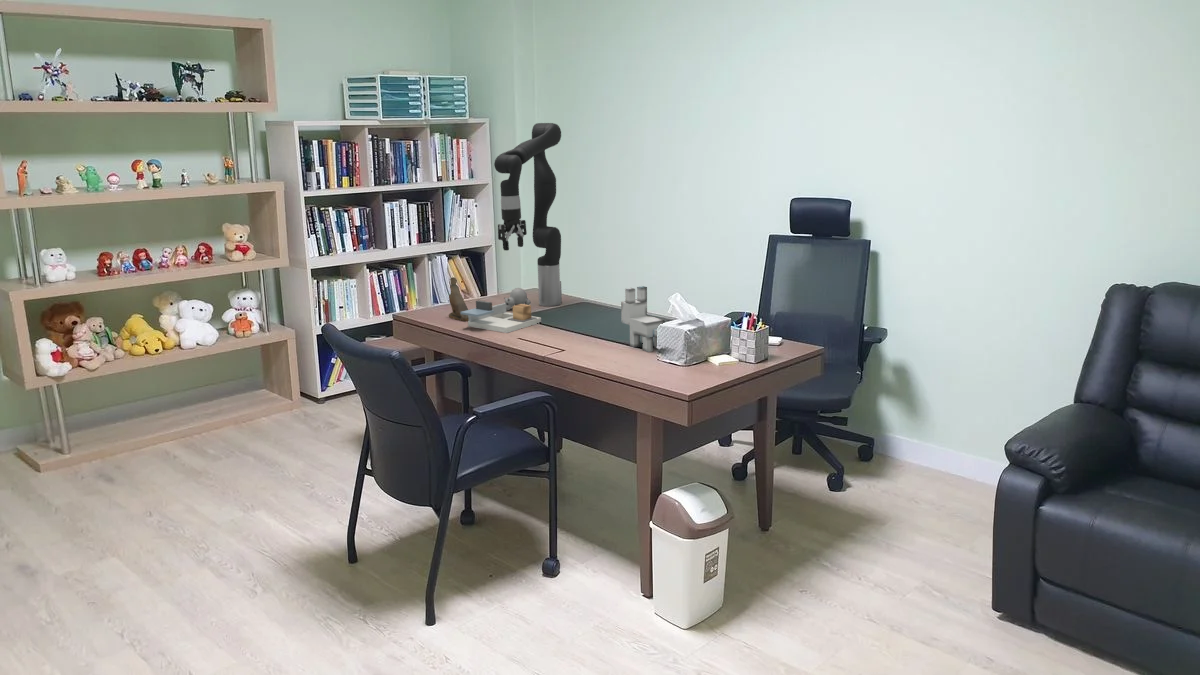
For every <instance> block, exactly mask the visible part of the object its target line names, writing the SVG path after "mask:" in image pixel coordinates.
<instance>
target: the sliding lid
mask: <svg viewBox="0 0 1200 675" xmlns="http://www.w3.org/2000/svg"><path fill="white" fill-rule="evenodd" d="M492 306H493V302H491V301H485V300H476V301H475V307H474V308H471V309H468V310H466V311H462V312H461V314H463V315H469V316H475V317H479V316H483V315H487V314H490V313H494V310H492Z"/></svg>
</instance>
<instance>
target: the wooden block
mask: <svg viewBox="0 0 1200 675" xmlns="http://www.w3.org/2000/svg"><path fill="white" fill-rule="evenodd" d="M512 313H513V319H518V320H526V319H529V318H531V316H532V305H531V304H529V305H526V304H525V303H524V304H519V305H514V306H513V307H512Z"/></svg>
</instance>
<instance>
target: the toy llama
mask: <svg viewBox="0 0 1200 675" xmlns="http://www.w3.org/2000/svg"><path fill="white" fill-rule="evenodd" d="M624 290H625V291H624V293H625V294H624V295H625V296H624V299H625V300H622V301H620V302H621V303H620V304H621V307H620V308H621V309H620V312H621V313H620V314H621V318H620V319H621V320H620V321H621V322H620V323H622V324H624V325H628V326H629V347H632V348H638V347H637V346H640V347H641V344H642V343H643V344H642V351H643V352H646V353H649V352H653V351H654V349H656V346H657V328H658V326H659V325H660V324H663V323H665V324H666V322H665V319H661V318H658V317H654V316H652V315H648V287H647V286H644V285H641V286H636V288H633V287H626V288H625V289H624ZM640 337H641V338H640ZM656 350H657V349H656Z"/></svg>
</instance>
